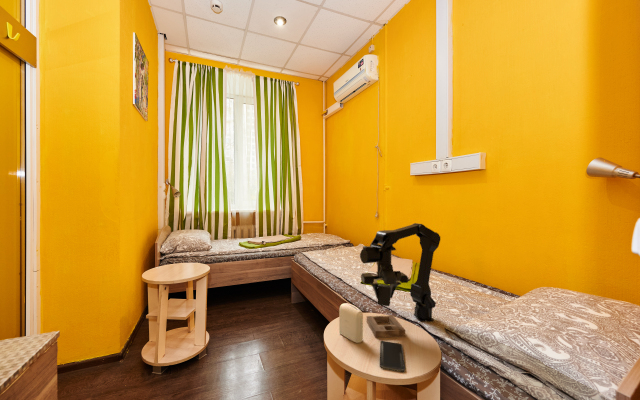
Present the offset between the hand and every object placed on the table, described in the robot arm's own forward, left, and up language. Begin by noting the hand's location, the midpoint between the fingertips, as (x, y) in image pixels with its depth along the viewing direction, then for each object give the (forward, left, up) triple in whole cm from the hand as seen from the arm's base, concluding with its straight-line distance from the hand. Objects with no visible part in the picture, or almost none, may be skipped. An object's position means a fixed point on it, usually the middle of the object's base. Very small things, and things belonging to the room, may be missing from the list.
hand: (384, 298), depth 106 cm
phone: (+4, +20, -13) cm, 24 cm away
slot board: (0, +2, -12) cm, 12 cm away
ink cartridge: (0, 0, -3) cm, 3 cm away
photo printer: (+16, +7, -12) cm, 21 cm away
